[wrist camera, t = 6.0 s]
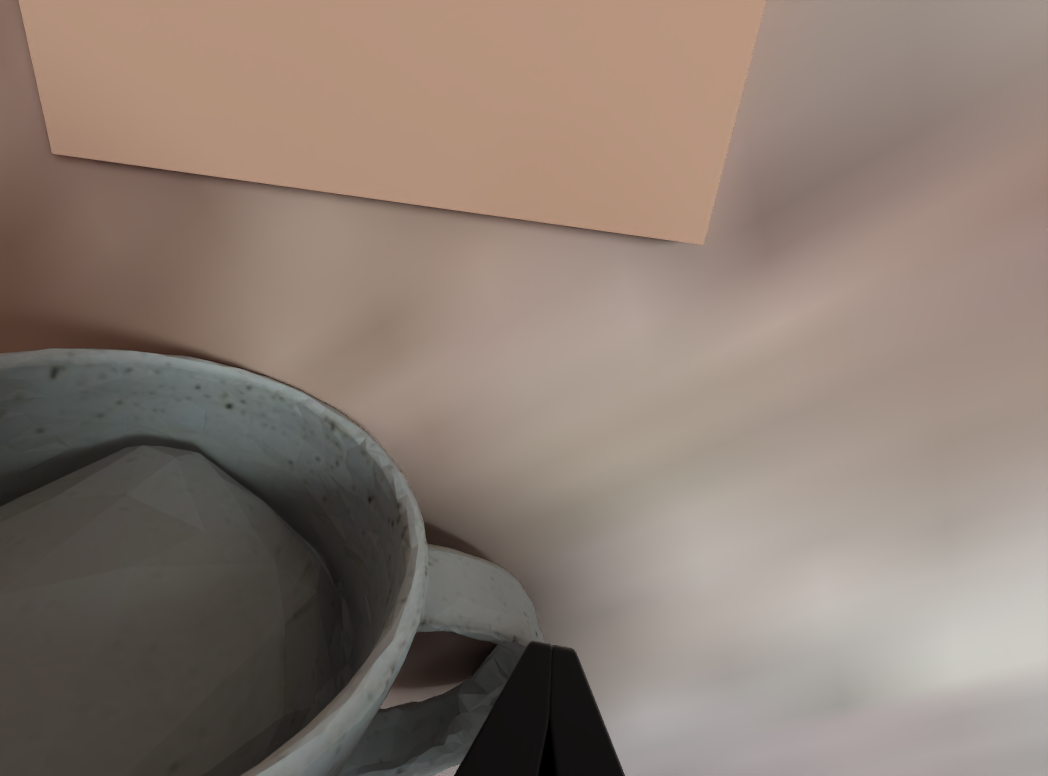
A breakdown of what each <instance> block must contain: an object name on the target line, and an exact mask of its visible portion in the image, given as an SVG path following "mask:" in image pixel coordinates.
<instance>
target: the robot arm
mask: <svg viewBox="0 0 1048 776" xmlns="http://www.w3.org/2000/svg"><path fill="white" fill-rule="evenodd" d="M454 776H625V774H624V772H623V769H622V767H621V764H620V762H619V759H618V757H617V754H616V752H615V749H614V747H613V744H612V741H611V739H610V736H609V734H608V731H607V729H606V726H605V724H604V721H603V719H602V716H601V714H600V711H599V709H598V706H597V704H596V701H595V699H594V696H593V693H592V691H591V688H590V686H589V683H588V681H587V678H586V676H585V673H584V671H583V668H582V666H581V663H580V661H579V658H578V656H577V653H576V652H575V650H574V649H572V648H567V647H562V646H557V645H553V646H552V645H550V644H547V643H542V642H537V641H531V642H529V643H528V645H527V647H526V648H525V650H524V652H523V654H522V656H521V657H520V659H519V661H518V663H517V664H516V666H515V668H514V670H513V672H512V673H511V675H510V677H509V679H508V681H507V682H506V684H505V686H504V688H503V689H502V691H501V693H500V695H499V697H498V698H497V700H496V702H495V704H494V705H493V707H492V709H491V711H490V713H489V714H488V716H487V718H486V720H485V721H484V723H483V725H482V727H481V729H480V730H479V732H478V734H477V736H476V737H475V739H474V741H473V743H472V745H471V746H470V748H469V750H468V752H467V753H466V755H465V757H464V759H463V761H462V762H461V764H460V766H459V768H458V769H457V771H456V773H455V775H454Z"/></svg>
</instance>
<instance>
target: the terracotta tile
mask: <svg viewBox="0 0 1048 776" xmlns="http://www.w3.org/2000/svg"><path fill="white" fill-rule="evenodd" d="M19 4H20V9H21V13H22V18H23V23H24V27H25V32H26V36H27V41H28V46H29V50H30V55H31V59H32V64H33V69H34V73H35V78H36V82H37V87H38V92H39V96H40V101H41V105H42V110H43V114H44V119H45V124H46V128H47V133H48V137H49V142H50V147H51V151H52V154H58V155H65V156H72V157H80V158H87V159H94V160H101V161H108V162H115V163H122V164H129V165H137V166H144V167H151V168H158V169H165V170H172V171H179V172H186V173H194V174H201V175H208V176H215V177H222V178H229V179H236V180H243V181H251V182H258V183H265V184H272V185H279V186H286V187H293V188H300V189H308V190H315V191H322V192H329V193H336V194H343V195H350V196H357V197H365V198H372V199H379V200H386V201H393V202H400V203H407V204H414V205H422V206H429V207H436V208H443V209H450V210H457V211H464V212H471V213H479V214H486V215H493V216H500V217H507V218H514V219H521V220H528V221H536V222H543V223H550V224H557V225H564V226H571V227H578V228H585V229H593V230H600V231H607V232H614V233H621V234H628V235H635V236H642V237H650V238H657V239H664V240H671V241H678V242H685V243H692V244H699V245H704V242H705V238H706V234H707V230H708V226H709V223H710V219H711V215H712V211H713V207H714V203H715V199H716V195H717V191H718V187H719V184H720V180H721V176H722V172H723V168H724V164H725V160H726V156H727V152H728V148H729V145H730V141H731V137H732V133H733V129H734V125H735V121H736V117H737V113H738V109H739V106H740V102H741V98H742V94H743V90H744V86H745V82H746V78H747V74H748V70H749V67H750V63H751V59H752V55H753V51H754V47H755V43H756V39H757V35H758V32H759V28H760V24H761V20H762V16H763V12H764V8H765V4H766V0H19Z"/></svg>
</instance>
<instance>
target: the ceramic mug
mask: <svg viewBox="0 0 1048 776" xmlns="http://www.w3.org/2000/svg"><path fill="white" fill-rule="evenodd" d="M433 631H447V632H453V633H457V634H460V635H464V636H467V637H470V638H473V639H477V640H482V641H489V642H492V643H494V644H497V646H496V647H495V649H494V650H493V651H492V652H491V653H490V654H489V656H488V657H487V658H486V659H485V660H484V661H483V663H482V664H481V665H480V667H479V668H478V670H477V671H476V672H475V674H474V675H473V676H471V677H470V678H469V679H467V680H466V681H465V682H463V683H462V684H460V685H458V686H457V687H455V688H453V689H451V690H449V691H447V692H446V693H444V694H441V695H438V696H435V697H432V698H429V699H427V700H424V701H422V702H409V703H406V704H402V705H397V706H393V707H390V708H387V709H379V708H380V706H381V705H382V703H383V701H384V700H385V698H386V696H387V694H388V693H389V691H390V689H391V687H392V685H393V683H394V681H395V679H396V677H397V675H398V673H399V671H400V669H401V667H402V665H403V663H404V661H405V659H406V656H407V654H408V651H409V649H410V646H411V643H412V641H413V638H414V636H415V633H417V632H433ZM531 641H537V642H542V643H545V641H544V638H543V636H542V633H541V631H540V628H539V625H538V621H537V617H536V613H535V609H534V605H533V603H532V601H531V600H530V598H529V597H528V595H527V593H526V592H525V590H524V588H523V587H522V585H521V583H520V582H519V581H518V580H517V579H516V578H515V577H514V576H513V575H512V574H511V573H510V572H509V571H508V570H507V569H505V568H503V567H501V566H499V565H497V564H495V563H493V562H491V561H488V560H485V559H482V558H479V557H476V556H473V555H470V554H467V553H464V552H461V551H458V550H455V549H452V548H448V547H443V546H438V545H433V544H428V543H427V541H426V535H425V528H424V521H423V518H422V515H421V512H420V509H419V505H418V502H417V500H416V497H415V495H414V493H413V491H412V489H411V487H410V485H409V483H408V481H407V479H406V477H405V476H404V474H403V472H402V470H401V469H400V468H399V467H398V465H397V464H396V463H395V462H394V460H393V459H392V458H391V457H390V455H389V454H388V453H387V452H386V451H385V450H384V449H383V448H382V447H381V446H380V444H379V443H378V442H377V441H376V440H375V439H374V438H373V437H372V436H371V435H370V434H369V433H368V432H366V431H365V430H364V429H362V428H361V427H360V426H358V425H357V424H355V423H354V422H353V421H351V420H350V419H349V418H347V417H346V416H345V415H343V414H342V413H341V412H339V411H338V410H336V409H334V408H332V407H330V406H329V405H327V404H325V403H323V402H321V401H319V400H318V399H316V398H314V397H312V396H310V395H308V394H306V393H304V392H302V391H300V390H298V389H296V388H293V387H291V386H288V385H286V384H284V383H281V382H279V381H276V380H274V379H271V378H269V377H267V376H262V375H258V374H255V373H253V372H250V371H248V370H244V369H240V368H236V367H232V366H228V365H224V364H220V363H216V362H212V361H207V360H203V359H198V358H194V357H189V356H181V355H166V354H156V353H148V352H139V351H131V350H120V349H97V348H71V349H63V348H51V349H42V350H31V351H20V352H9V353H0V776H432V775H435V774H437V773H439V772H441V771H443V770H445V769H447V768H450V767H452V766H455V765H458V764H460V763H461V762H462V761H463V759H464V757H465V755H466V753H467V752H468V750H469V748H470V746H471V745H472V743H473V741H474V739H475V737H476V736H477V734H478V732H479V730H480V729H481V727H482V725H483V723H484V721H485V720H486V718H487V716H488V714H489V713H490V711H491V709H492V707H493V705H494V704H495V702H496V700H497V698H498V697H499V695H500V693H501V691H502V689H503V688H504V686H505V684H506V682H507V681H508V679H509V677H510V675H511V673H512V672H513V670H514V668H515V666H516V664H517V663H518V661H519V659H520V657H521V656H522V654H523V652H524V650H525V648H526V647H527V645H528V643H529V642H531Z"/></svg>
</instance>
